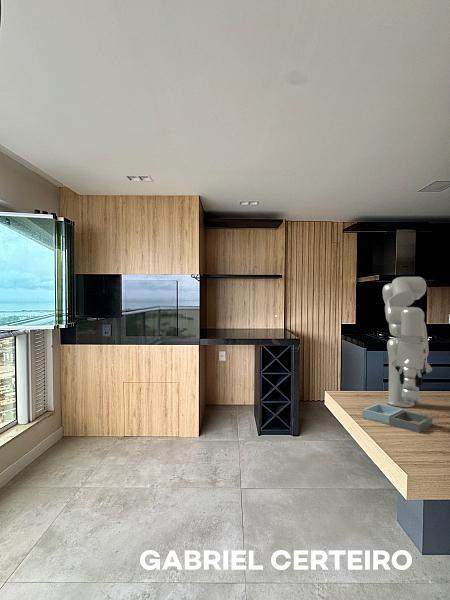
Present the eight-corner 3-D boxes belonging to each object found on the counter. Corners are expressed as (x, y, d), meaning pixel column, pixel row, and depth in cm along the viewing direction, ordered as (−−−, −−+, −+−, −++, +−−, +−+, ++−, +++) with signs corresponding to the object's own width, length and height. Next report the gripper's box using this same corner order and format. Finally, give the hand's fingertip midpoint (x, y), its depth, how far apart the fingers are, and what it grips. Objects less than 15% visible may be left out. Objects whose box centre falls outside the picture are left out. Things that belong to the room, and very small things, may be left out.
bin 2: (403, 417, 148) (403, 410, 148) (432, 424, 139) (432, 416, 139) (389, 424, 138) (389, 417, 138) (419, 432, 130) (419, 424, 130)
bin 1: (377, 411, 156) (377, 403, 156) (403, 417, 148) (403, 409, 148) (362, 417, 146) (362, 409, 146) (389, 424, 138) (389, 416, 138)
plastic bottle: (417, 399, 142) (418, 350, 142) (421, 404, 136) (422, 352, 135) (400, 397, 144) (400, 349, 144) (402, 402, 138) (403, 352, 137)
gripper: (439, 341, 135) (438, 387, 136) (393, 336, 148) (392, 379, 149) (432, 343, 130) (431, 391, 131) (385, 338, 143) (385, 382, 144)
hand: (410, 384), depth 140 cm, fingers closed on plastic bottle, 5 cm apart
